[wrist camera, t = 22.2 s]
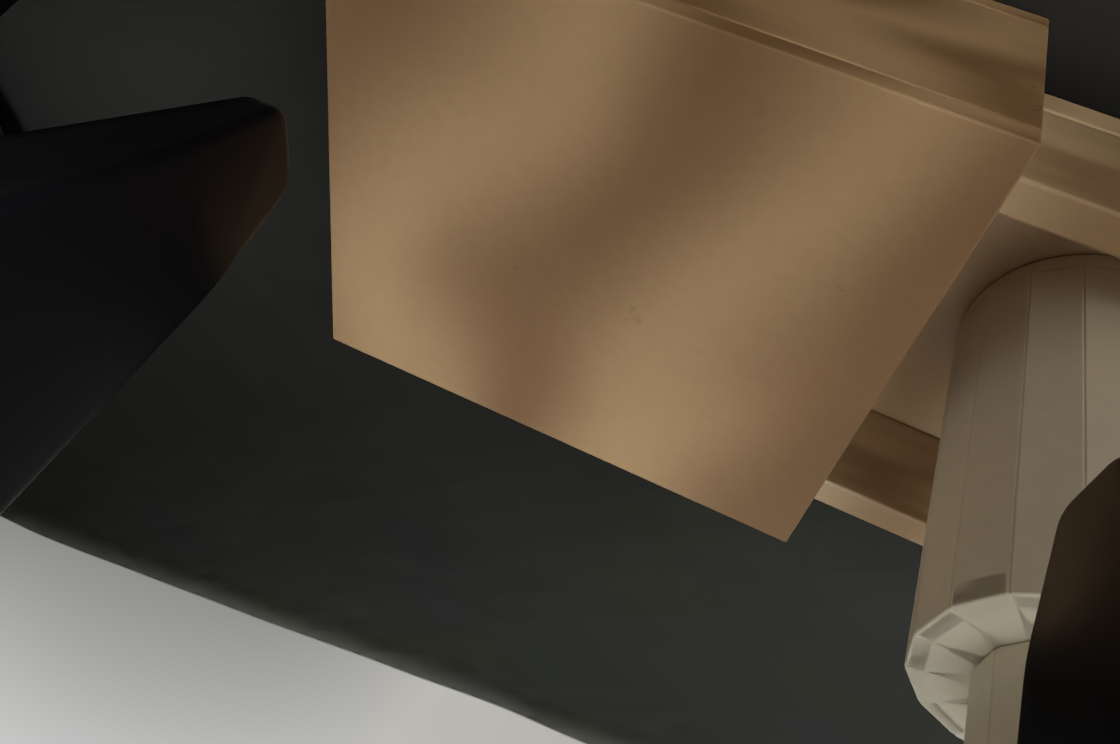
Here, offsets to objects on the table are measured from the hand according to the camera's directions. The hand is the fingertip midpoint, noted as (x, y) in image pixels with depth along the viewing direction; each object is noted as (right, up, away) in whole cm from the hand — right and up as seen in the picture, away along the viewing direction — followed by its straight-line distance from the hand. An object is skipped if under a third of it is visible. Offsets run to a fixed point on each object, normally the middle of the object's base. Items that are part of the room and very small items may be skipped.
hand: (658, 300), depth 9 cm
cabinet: (+2, +5, +14) cm, 15 cm away
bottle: (+11, 0, +11) cm, 15 cm away
